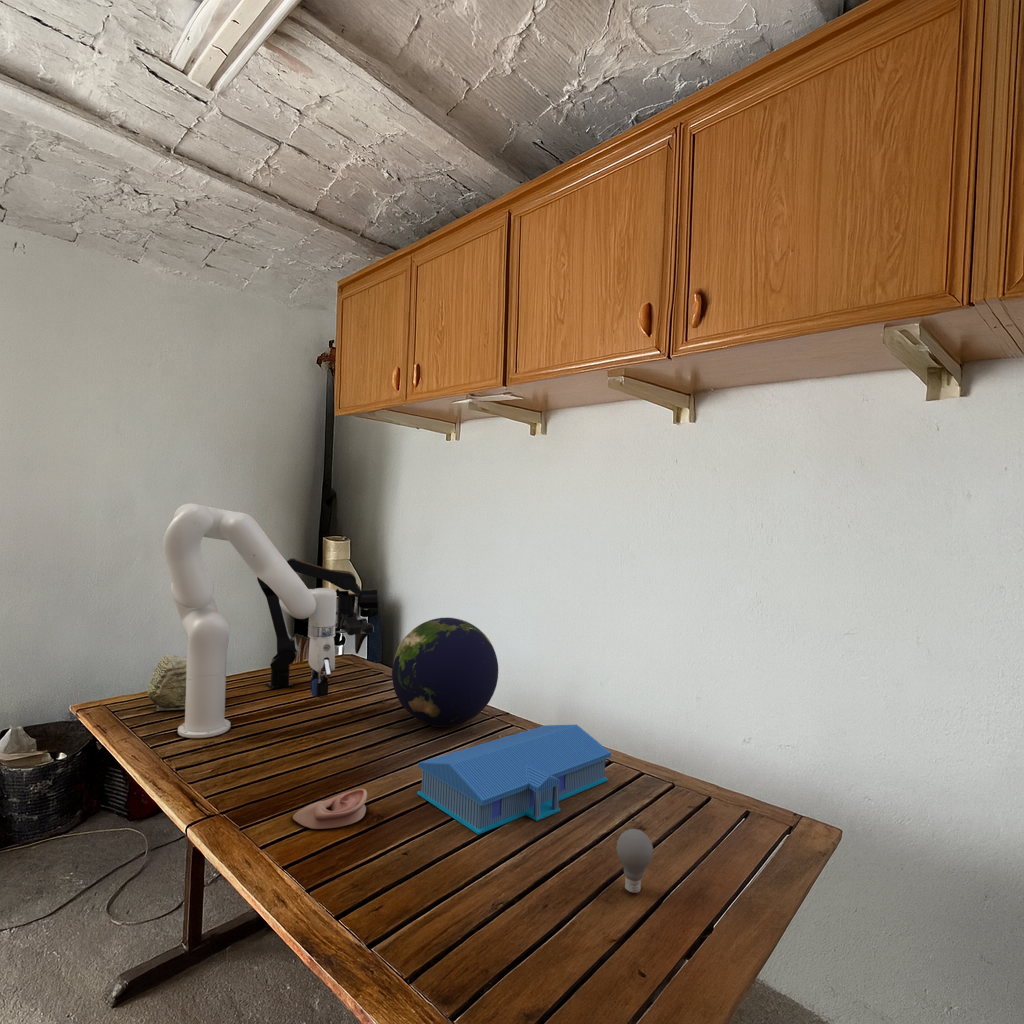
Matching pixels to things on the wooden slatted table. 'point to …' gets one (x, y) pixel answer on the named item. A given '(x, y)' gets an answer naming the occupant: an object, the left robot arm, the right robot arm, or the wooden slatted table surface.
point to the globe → (445, 672)
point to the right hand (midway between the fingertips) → (344, 655)
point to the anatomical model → (334, 811)
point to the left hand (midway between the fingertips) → (319, 692)
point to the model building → (514, 776)
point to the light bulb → (634, 857)
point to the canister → (314, 687)
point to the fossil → (169, 683)
